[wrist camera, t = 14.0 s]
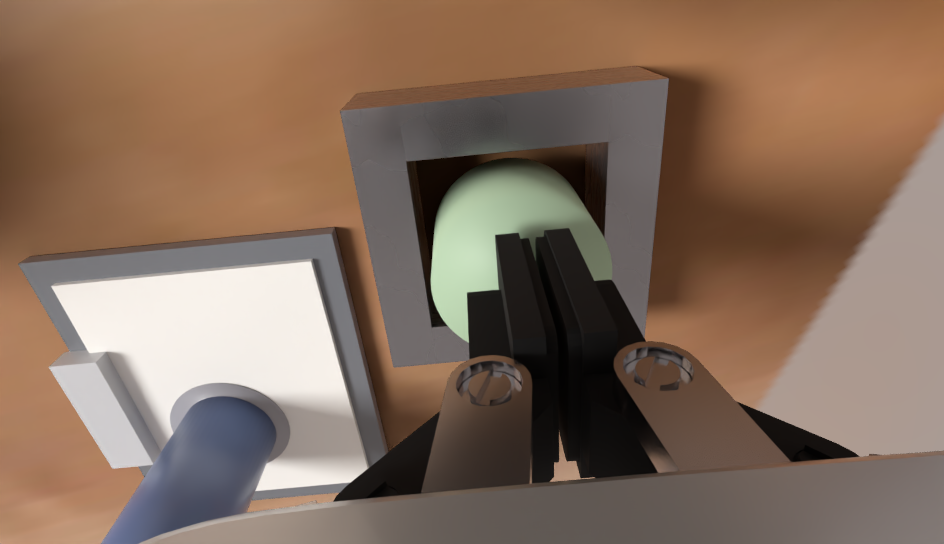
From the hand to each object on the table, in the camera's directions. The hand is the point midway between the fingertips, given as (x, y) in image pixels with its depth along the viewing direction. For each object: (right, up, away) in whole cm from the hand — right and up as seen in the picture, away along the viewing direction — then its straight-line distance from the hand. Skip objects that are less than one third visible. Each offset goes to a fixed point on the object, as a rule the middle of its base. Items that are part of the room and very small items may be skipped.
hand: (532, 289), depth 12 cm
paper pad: (-10, -4, +8) cm, 13 cm away
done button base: (0, +2, +5) cm, 5 cm away
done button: (0, +2, +3) cm, 4 cm away
